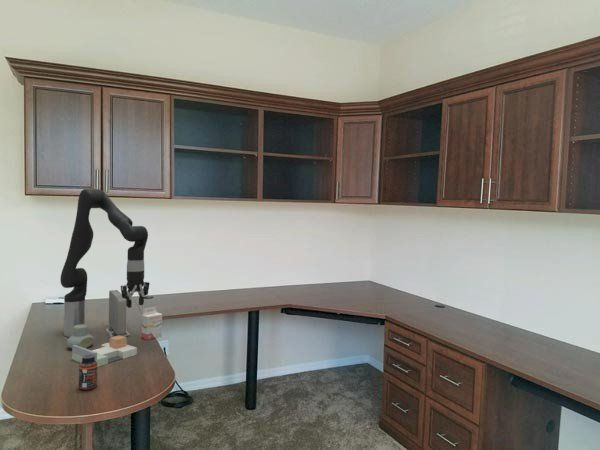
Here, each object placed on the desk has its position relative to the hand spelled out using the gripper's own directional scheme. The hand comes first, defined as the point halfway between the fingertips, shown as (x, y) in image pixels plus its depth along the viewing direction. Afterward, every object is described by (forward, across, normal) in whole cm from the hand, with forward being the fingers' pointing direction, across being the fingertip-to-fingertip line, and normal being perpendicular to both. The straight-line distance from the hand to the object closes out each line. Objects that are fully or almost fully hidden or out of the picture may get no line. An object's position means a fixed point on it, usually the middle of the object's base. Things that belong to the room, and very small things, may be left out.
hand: (135, 306), depth 194 cm
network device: (+20, -10, -28) cm, 35 cm away
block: (+16, +8, 0) cm, 19 cm away
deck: (+19, +14, 0) cm, 24 cm away
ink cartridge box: (+20, -15, -7) cm, 26 cm away
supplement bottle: (+20, +36, +23) cm, 47 cm away
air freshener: (+20, +14, -20) cm, 31 cm away
